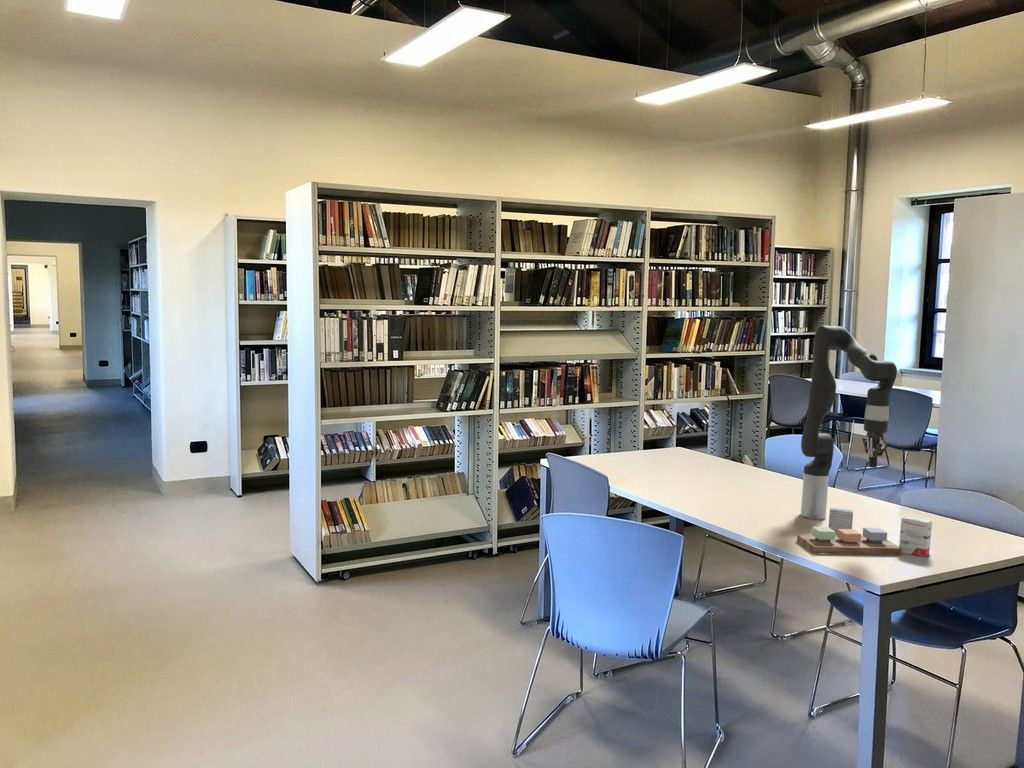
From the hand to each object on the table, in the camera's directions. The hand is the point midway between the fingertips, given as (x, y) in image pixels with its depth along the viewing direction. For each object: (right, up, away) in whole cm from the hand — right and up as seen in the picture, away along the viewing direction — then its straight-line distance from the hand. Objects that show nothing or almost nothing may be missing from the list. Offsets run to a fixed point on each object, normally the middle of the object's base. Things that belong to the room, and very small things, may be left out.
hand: (872, 467), depth 276 cm
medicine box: (-5, -26, +15) cm, 30 cm away
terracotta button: (-10, -24, -5) cm, 27 cm away
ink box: (+11, -29, -8) cm, 31 cm away
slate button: (-1, -24, -5) cm, 24 cm away
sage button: (-19, -23, -5) cm, 31 cm away
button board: (-11, -27, -5) cm, 30 cm away
